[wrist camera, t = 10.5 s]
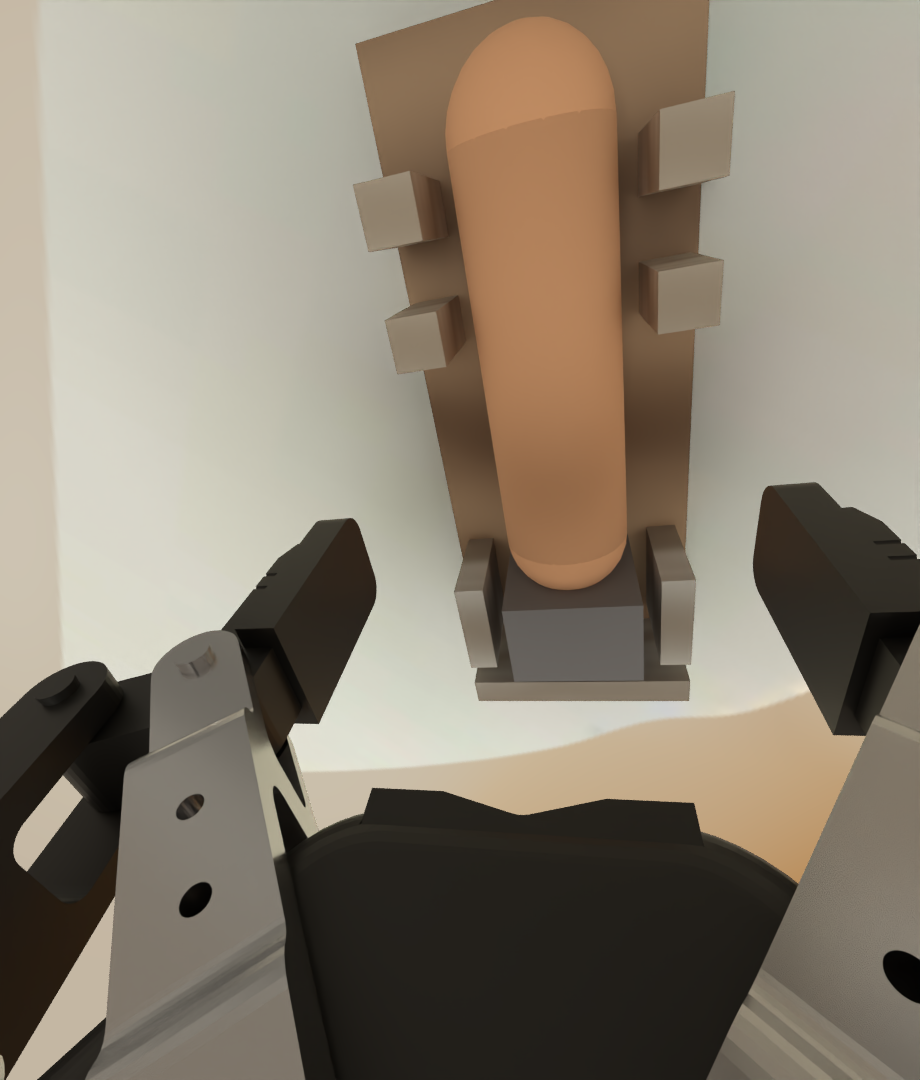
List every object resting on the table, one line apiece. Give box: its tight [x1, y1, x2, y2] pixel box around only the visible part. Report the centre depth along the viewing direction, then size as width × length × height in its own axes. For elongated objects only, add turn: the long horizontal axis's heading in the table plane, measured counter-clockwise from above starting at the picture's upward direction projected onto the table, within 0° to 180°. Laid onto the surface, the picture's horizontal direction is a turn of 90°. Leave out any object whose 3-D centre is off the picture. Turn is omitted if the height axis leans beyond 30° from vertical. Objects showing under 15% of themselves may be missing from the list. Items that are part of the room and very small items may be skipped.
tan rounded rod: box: [445, 16, 644, 682], centre depth 15 cm, size 18×4×4 cm, turn 10°
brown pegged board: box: [353, 0, 735, 701], centre depth 17 cm, size 21×9×5 cm, turn 10°
